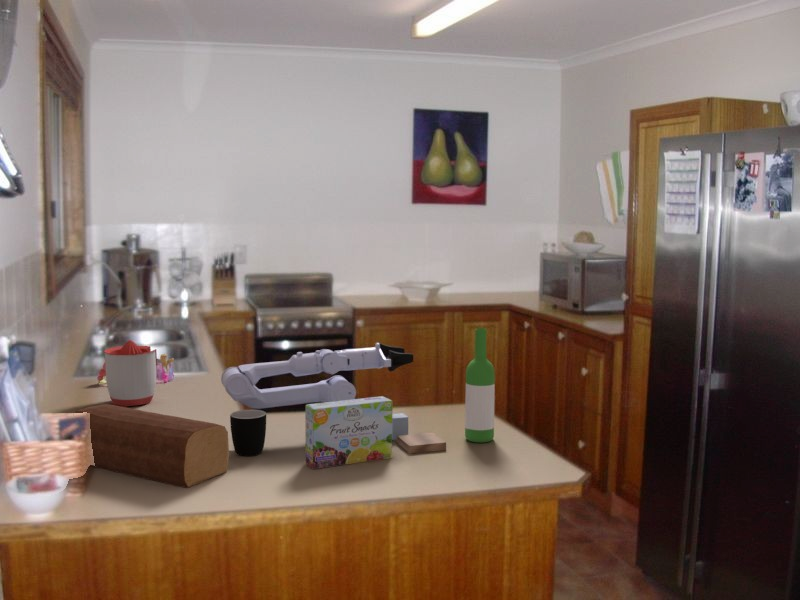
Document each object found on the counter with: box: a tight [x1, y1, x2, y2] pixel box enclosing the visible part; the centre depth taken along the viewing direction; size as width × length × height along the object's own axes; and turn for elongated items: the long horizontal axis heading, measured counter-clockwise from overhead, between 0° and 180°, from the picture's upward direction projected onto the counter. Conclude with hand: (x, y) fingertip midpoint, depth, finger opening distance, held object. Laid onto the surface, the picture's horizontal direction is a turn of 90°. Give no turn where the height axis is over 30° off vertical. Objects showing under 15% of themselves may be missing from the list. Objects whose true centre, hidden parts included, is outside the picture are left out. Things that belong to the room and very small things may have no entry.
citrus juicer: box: [103, 339, 162, 408], centre depth 270 cm, size 16×17×20 cm
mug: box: [229, 409, 267, 457], centre depth 219 cm, size 12×9×10 cm
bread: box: [74, 404, 230, 489], centre depth 206 cm, size 16×39×13 cm, turn 59°
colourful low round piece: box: [96, 353, 175, 388], centre depth 303 cm, size 25×24×9 cm
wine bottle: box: [464, 327, 496, 444], centre depth 229 cm, size 8×8×30 cm
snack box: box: [304, 395, 394, 470], centre depth 211 cm, size 21×6×15 cm, turn 117°
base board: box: [396, 431, 447, 455], centre depth 224 cm, size 10×10×2 cm
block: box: [392, 412, 409, 441], centre depth 232 cm, size 4×4×6 cm
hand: (408, 354), depth 238 cm, fingers open, 7 cm apart
